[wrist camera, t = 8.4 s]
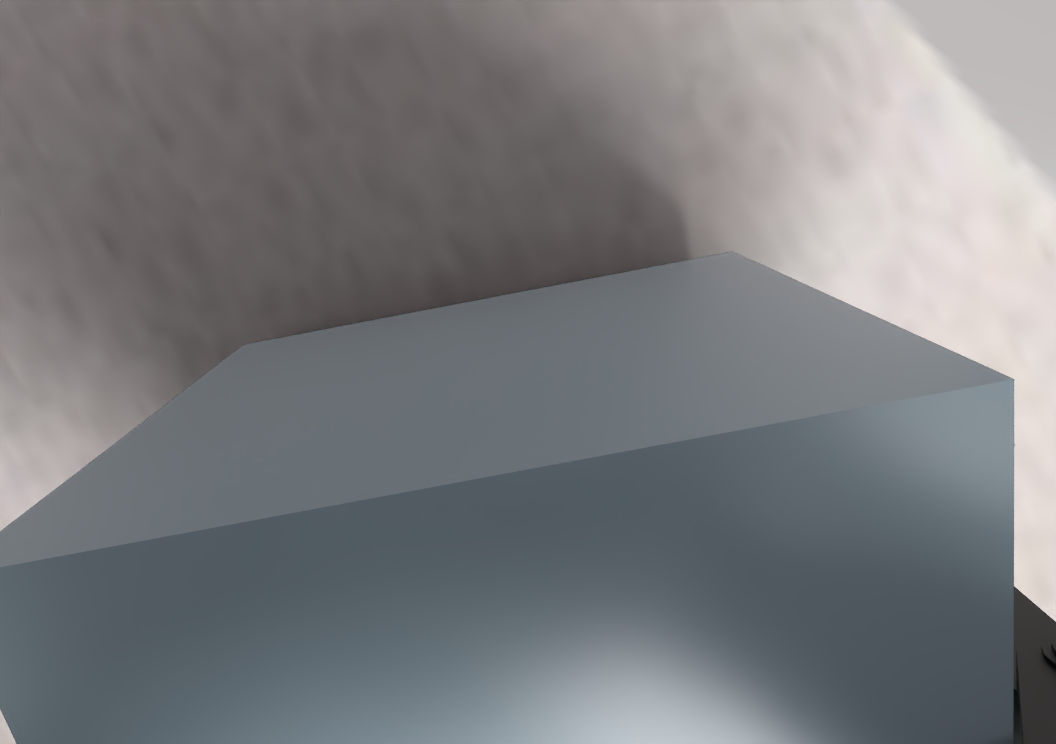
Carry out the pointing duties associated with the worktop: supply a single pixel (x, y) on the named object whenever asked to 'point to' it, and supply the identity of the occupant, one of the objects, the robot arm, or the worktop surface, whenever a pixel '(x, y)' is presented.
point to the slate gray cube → (539, 534)
